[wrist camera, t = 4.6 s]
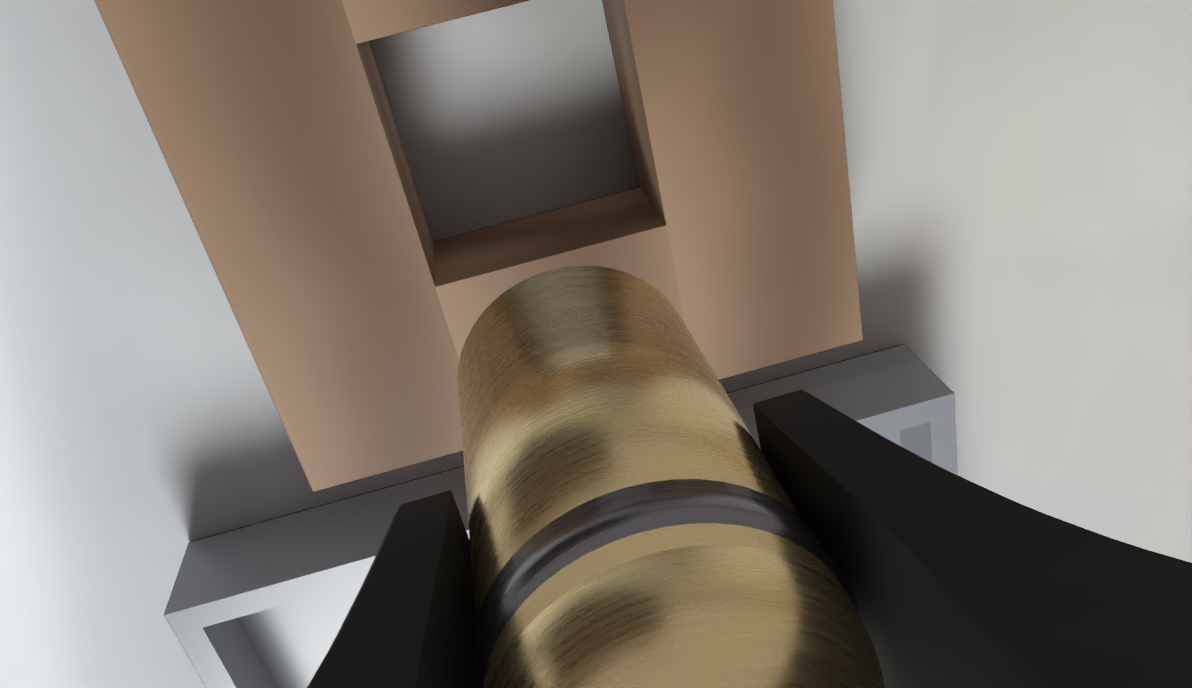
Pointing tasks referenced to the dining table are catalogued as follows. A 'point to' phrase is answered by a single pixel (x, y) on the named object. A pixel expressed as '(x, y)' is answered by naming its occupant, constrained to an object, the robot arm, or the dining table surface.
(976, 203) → the dining table surface
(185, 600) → the tray
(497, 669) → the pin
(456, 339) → the holder block
